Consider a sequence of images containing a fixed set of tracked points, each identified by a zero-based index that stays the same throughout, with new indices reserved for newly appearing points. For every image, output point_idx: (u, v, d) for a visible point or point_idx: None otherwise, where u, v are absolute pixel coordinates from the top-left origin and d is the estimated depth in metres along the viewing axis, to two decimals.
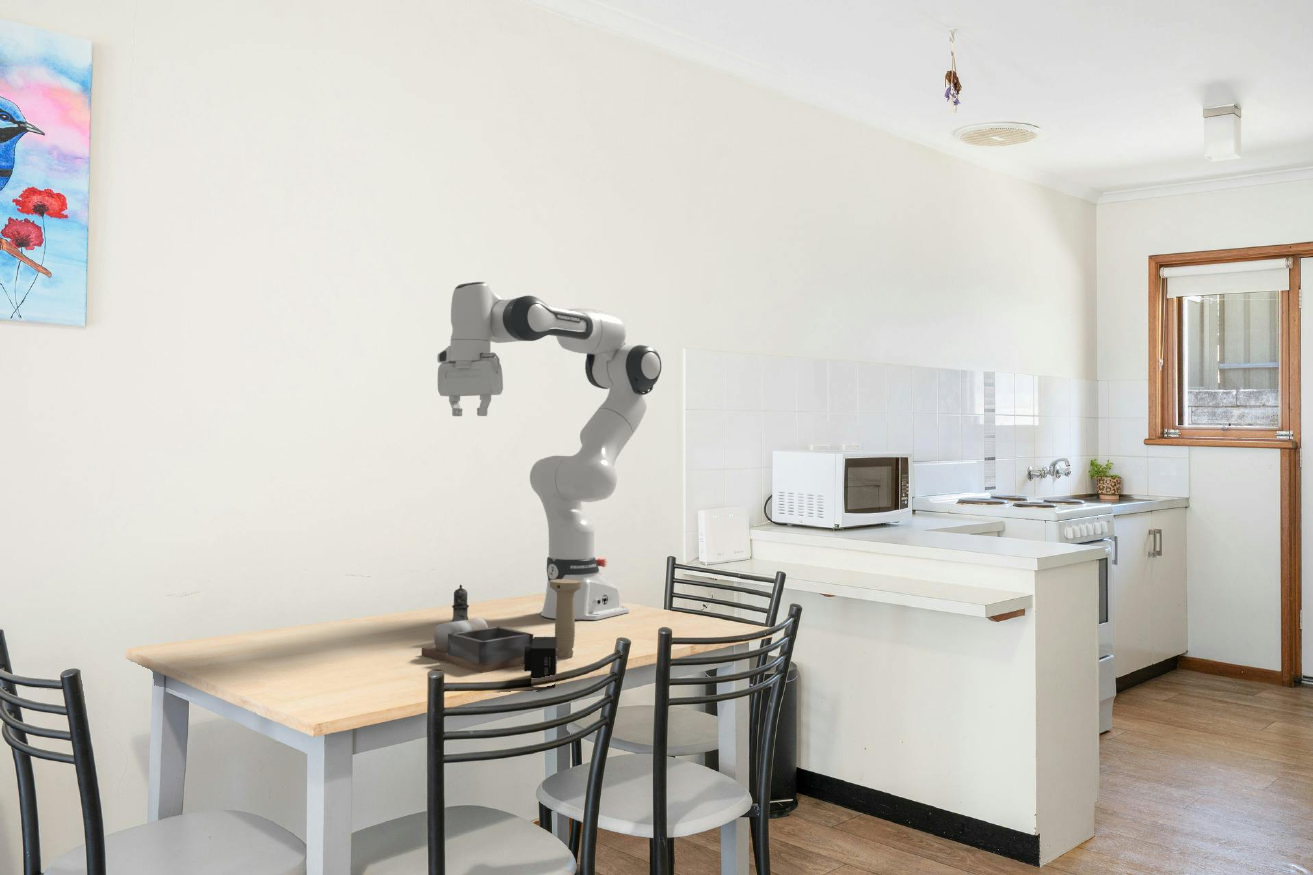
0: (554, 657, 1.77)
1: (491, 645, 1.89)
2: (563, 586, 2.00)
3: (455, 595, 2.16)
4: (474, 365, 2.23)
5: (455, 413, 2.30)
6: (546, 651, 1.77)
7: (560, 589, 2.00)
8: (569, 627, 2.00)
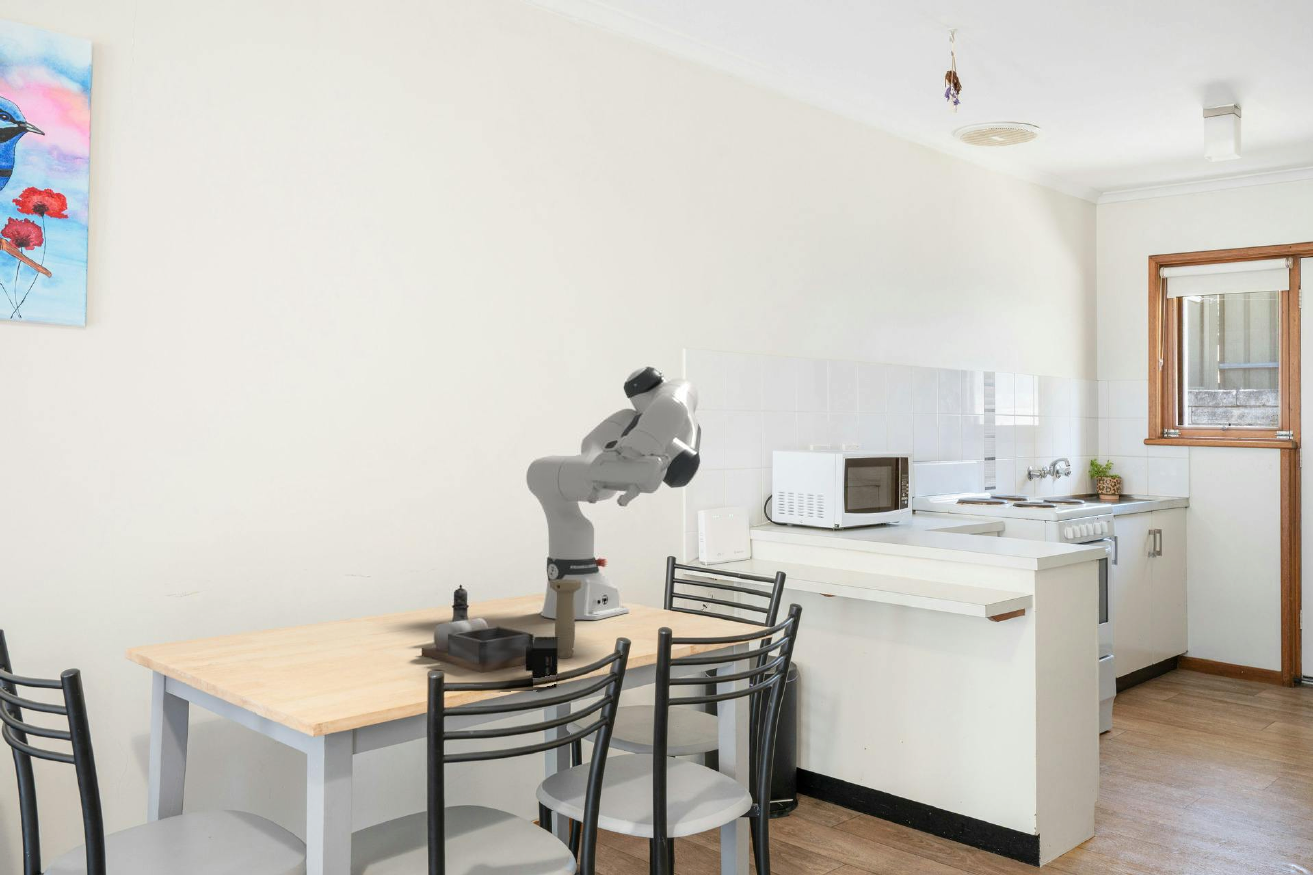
0: (555, 657, 1.77)
1: (491, 645, 1.89)
2: (563, 586, 2.00)
3: (455, 595, 2.16)
4: (641, 458, 2.12)
5: (590, 496, 2.13)
6: (548, 651, 1.77)
7: (560, 589, 2.00)
8: (569, 627, 2.00)
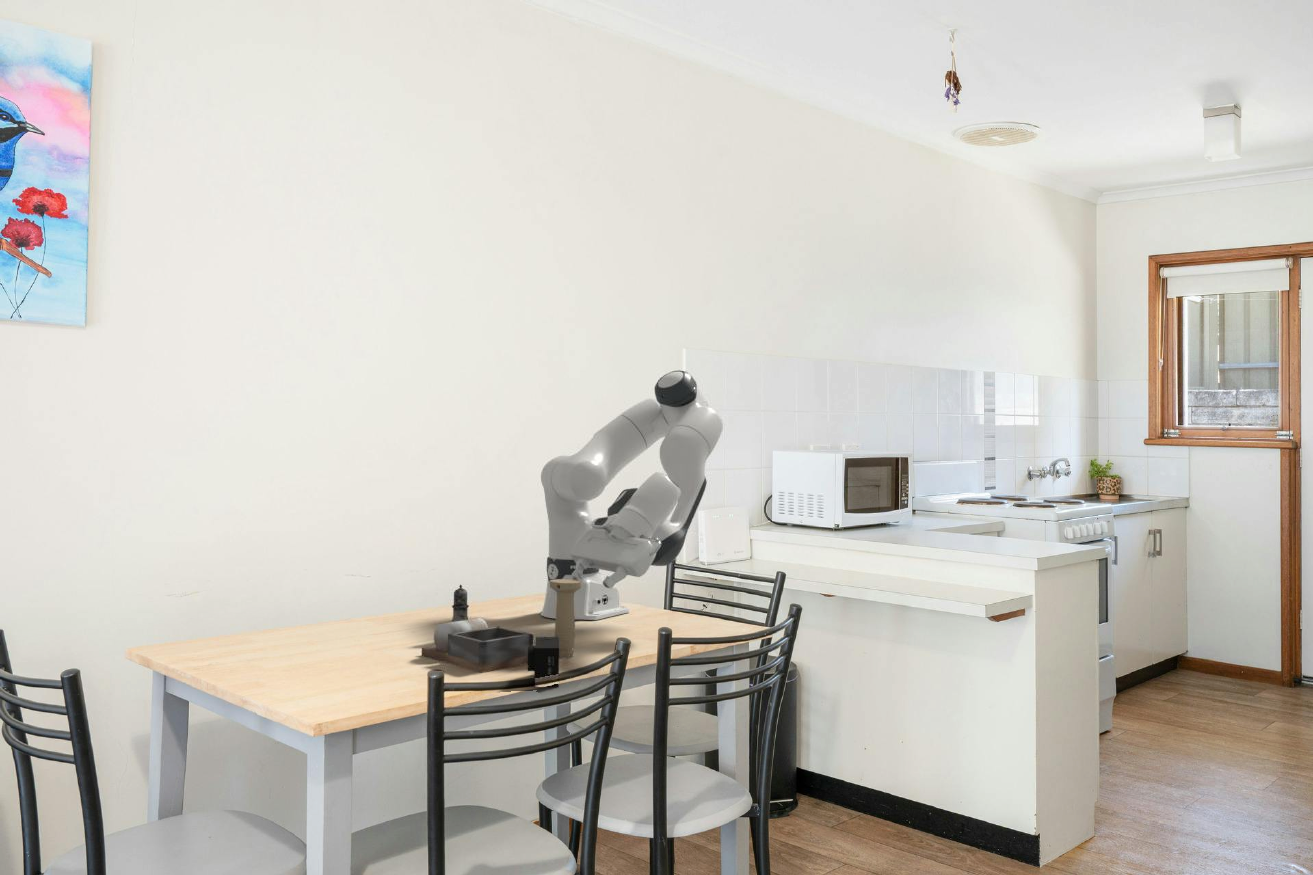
0: (557, 657, 1.78)
1: (491, 645, 1.89)
2: (564, 586, 2.00)
3: (455, 595, 2.16)
4: (631, 539, 2.08)
5: (576, 574, 2.09)
6: (550, 651, 1.77)
7: (560, 589, 2.00)
8: (569, 627, 2.00)
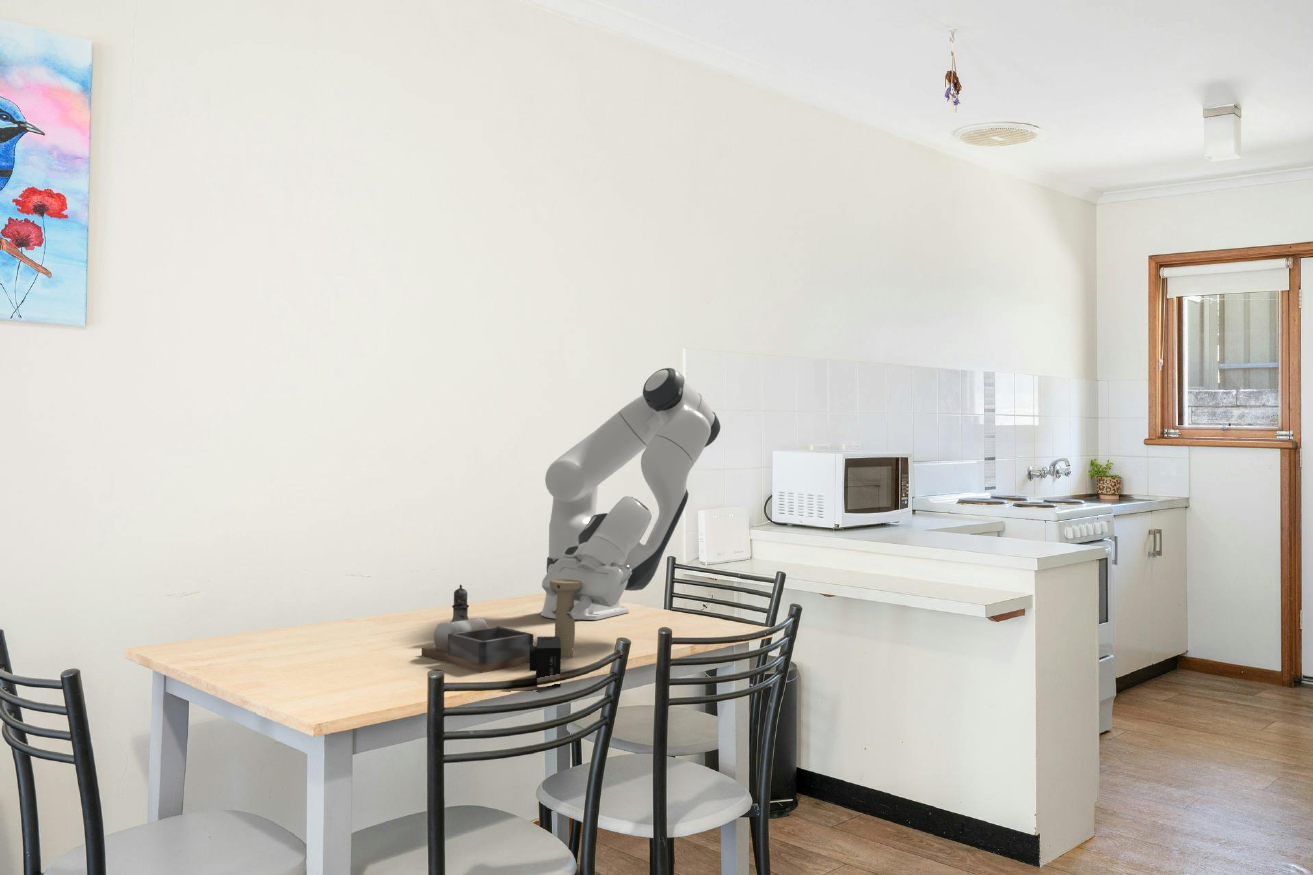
0: (559, 657, 1.78)
1: (491, 645, 1.89)
2: (563, 585, 2.00)
3: (455, 595, 2.16)
4: (601, 568, 2.04)
5: (555, 608, 2.03)
6: (552, 651, 1.78)
7: (560, 589, 2.00)
8: (569, 627, 2.00)
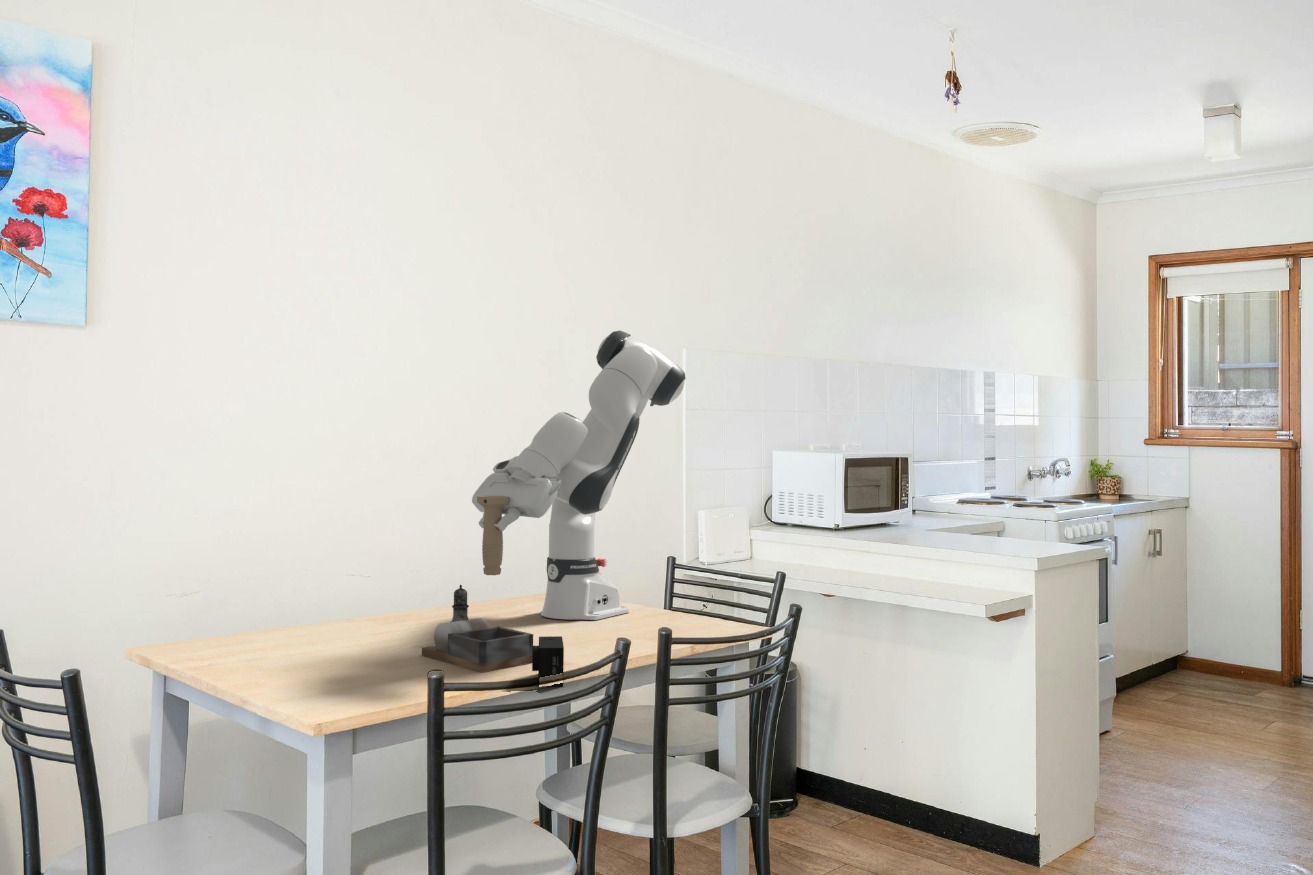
0: (562, 656, 1.78)
1: (491, 645, 1.89)
2: (490, 500, 1.93)
3: (455, 595, 2.16)
4: (531, 480, 1.97)
5: (483, 521, 1.97)
6: (554, 650, 1.78)
7: (487, 504, 1.94)
8: (496, 543, 1.94)
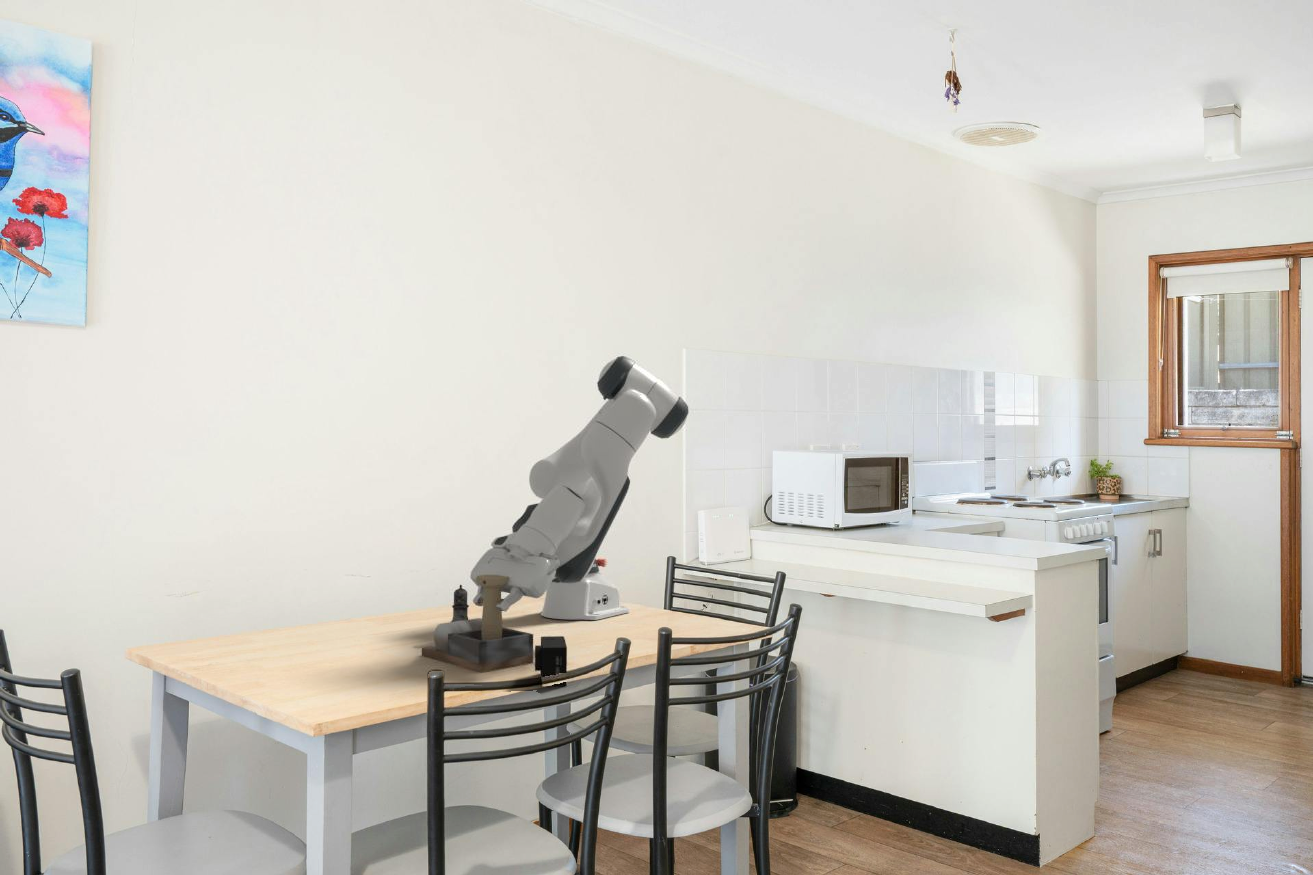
0: (565, 656, 1.78)
1: (491, 645, 1.89)
2: (489, 581, 1.94)
3: (455, 595, 2.16)
4: (529, 558, 1.97)
5: (477, 599, 1.98)
6: (558, 650, 1.78)
7: (486, 585, 1.94)
8: (495, 624, 1.94)
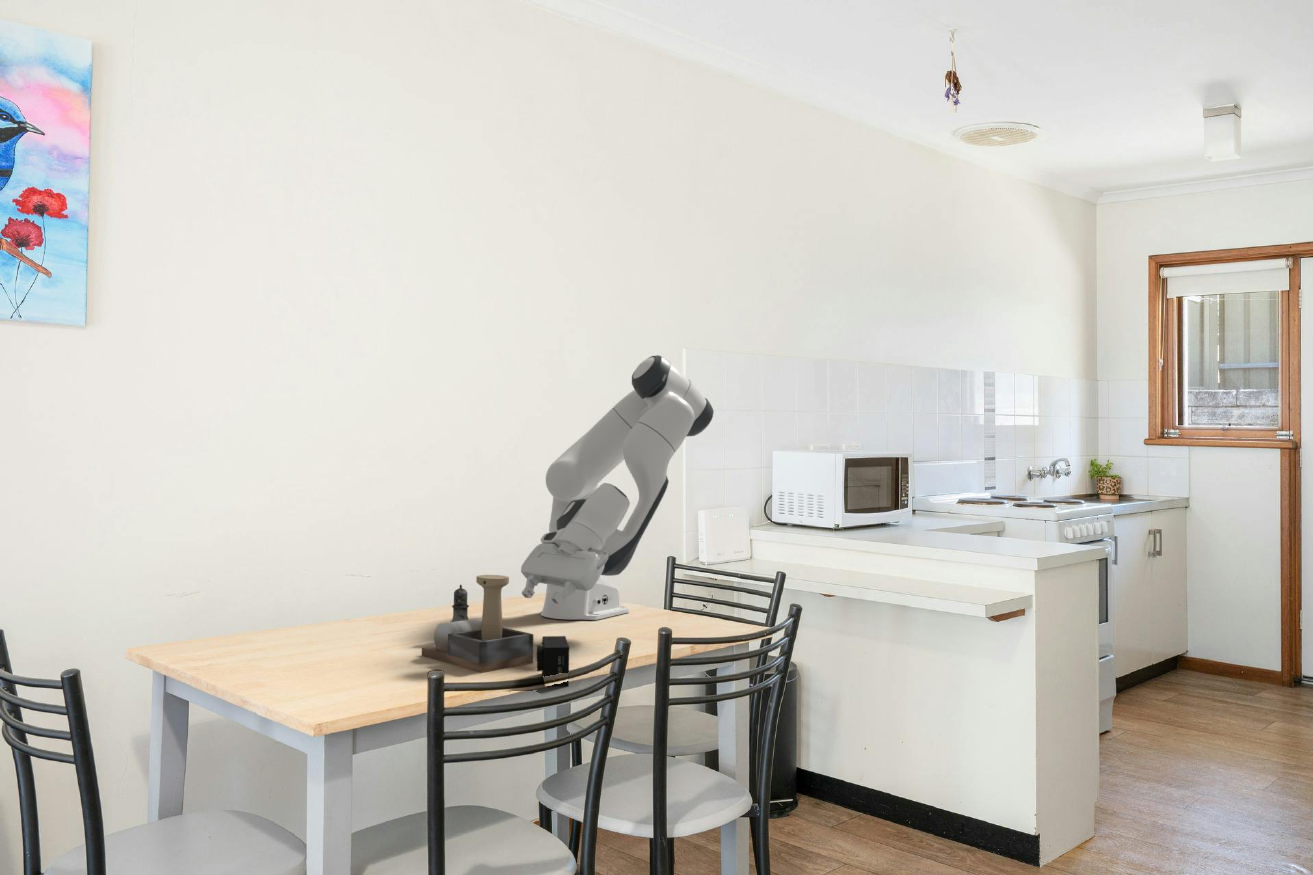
0: (568, 656, 1.78)
1: (491, 645, 1.89)
2: (489, 581, 1.93)
3: (455, 595, 2.16)
4: (579, 553, 2.07)
5: (526, 591, 2.08)
6: (560, 650, 1.78)
7: (486, 585, 1.94)
8: (495, 624, 1.94)
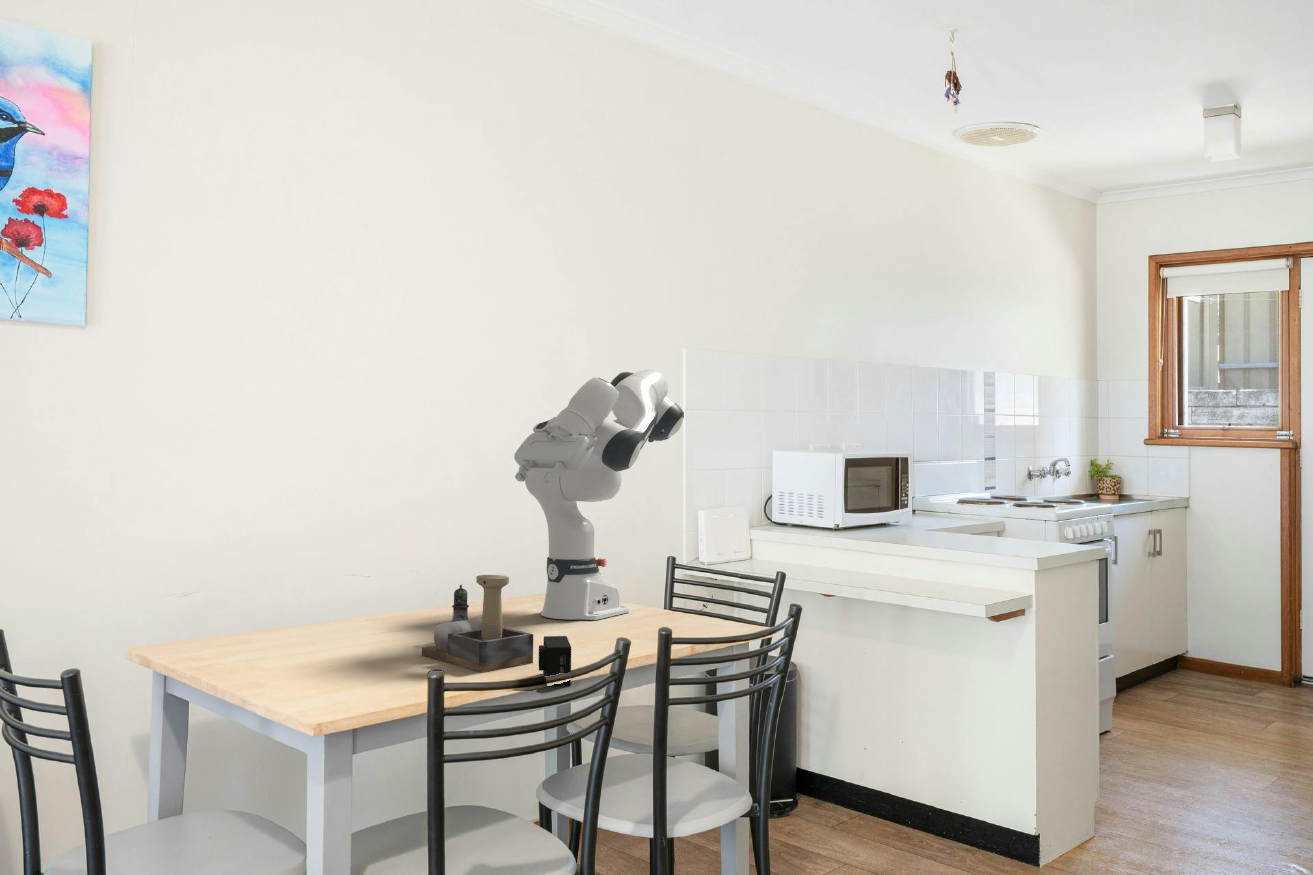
0: (570, 656, 1.78)
1: (491, 645, 1.89)
2: (489, 581, 1.93)
3: (455, 595, 2.16)
4: (569, 437, 2.17)
5: (519, 474, 2.18)
6: (562, 650, 1.78)
7: (486, 585, 1.94)
8: (495, 624, 1.94)
